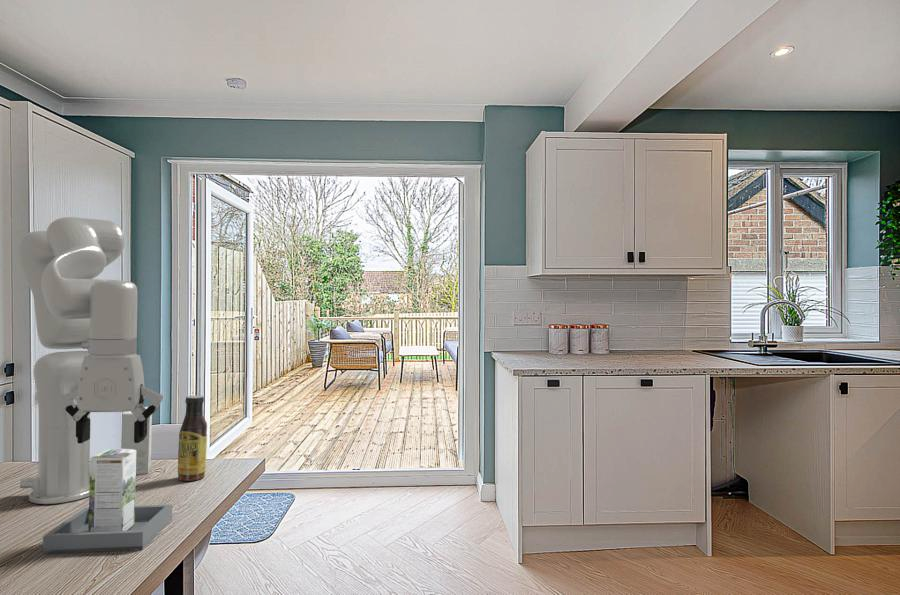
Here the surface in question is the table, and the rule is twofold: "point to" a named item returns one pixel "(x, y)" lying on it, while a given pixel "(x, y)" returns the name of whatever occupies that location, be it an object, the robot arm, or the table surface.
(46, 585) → the table surface
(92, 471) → the syrup box
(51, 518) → the table surface
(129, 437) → the skincare box
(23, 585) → the table surface
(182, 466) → the sauce bottle
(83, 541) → the tray
